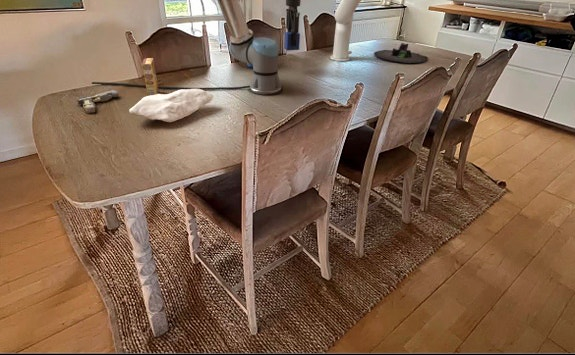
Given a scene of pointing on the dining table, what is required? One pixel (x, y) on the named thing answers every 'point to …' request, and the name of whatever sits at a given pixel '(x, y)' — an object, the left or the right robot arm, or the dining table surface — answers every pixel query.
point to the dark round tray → (401, 55)
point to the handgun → (95, 100)
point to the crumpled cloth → (171, 104)
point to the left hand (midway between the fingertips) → (291, 44)
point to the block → (288, 41)
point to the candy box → (150, 76)
